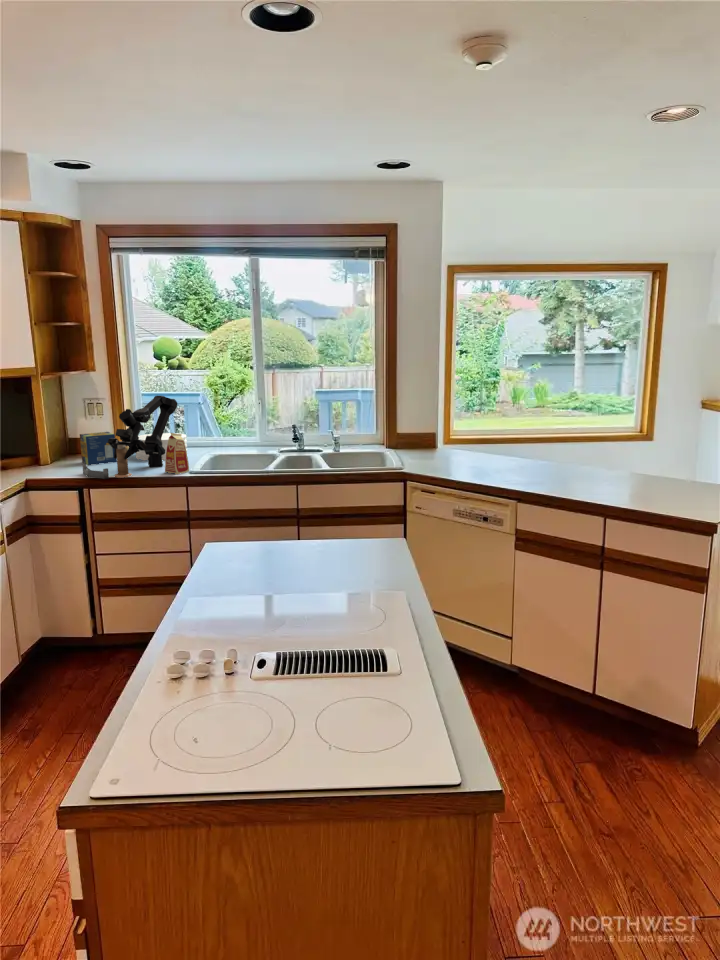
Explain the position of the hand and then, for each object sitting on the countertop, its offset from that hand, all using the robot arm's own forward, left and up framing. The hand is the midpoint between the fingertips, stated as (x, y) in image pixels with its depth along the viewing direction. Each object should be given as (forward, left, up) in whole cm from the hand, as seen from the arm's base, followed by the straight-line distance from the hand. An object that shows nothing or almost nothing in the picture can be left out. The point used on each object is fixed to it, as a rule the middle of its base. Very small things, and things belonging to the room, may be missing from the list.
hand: (119, 458), depth 304 cm
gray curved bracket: (+12, -4, -9) cm, 16 cm away
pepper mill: (-1, -1, -8) cm, 8 cm away
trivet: (-1, -1, -9) cm, 9 cm away
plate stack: (-14, -54, -9) cm, 57 cm away
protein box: (+17, -42, -9) cm, 47 cm away
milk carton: (-26, -6, -9) cm, 28 cm away
